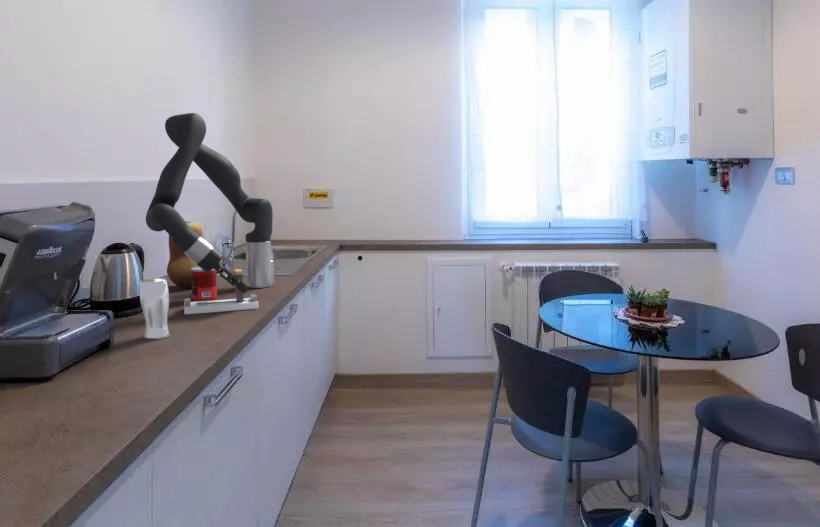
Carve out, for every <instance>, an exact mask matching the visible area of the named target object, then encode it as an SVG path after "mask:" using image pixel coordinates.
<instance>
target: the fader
mask: <svg viewBox="0 0 820 527" xmlns="http://www.w3.org/2000/svg"><path fill="white" fill-rule="evenodd" d="M234 274H235V277H236V278H238V279H239V280H240V281H241V282H242V283H244V280H243V270H242V269H241V268H239V269H238V268H237V269H234ZM234 289H235V299H236V301H237V302H241V301H244V300H243V298H244V293H242V292H241V291H240V290H239V289H237V288H236V287H234Z"/></svg>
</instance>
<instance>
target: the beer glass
mask: <svg viewBox="0 0 820 527" xmlns="http://www.w3.org/2000/svg"><path fill="white" fill-rule="evenodd" d="M168 279H169V278H165V277H152V278H151V277H150V278H144V279H141V280H140V281H139V298H140V299H139V300H140V305H141V306H140V307H141V310H142V313H143V318H144V321H145V323H144V324H145V330H144V339H147V340H161V339H166V338H168V337H170V336H171V332H170V329H169V325H168V317H169V307H170V290H169V281H168Z"/></svg>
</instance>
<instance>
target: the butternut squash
mask: <svg viewBox="0 0 820 527" xmlns="http://www.w3.org/2000/svg"><path fill="white" fill-rule="evenodd" d="M185 222H186V223H187V225H188V226H189V227H190V228H191V229H193V230H194V231H195V232H196V233H197V234H199V235H200V236H201V237H202V238H204V234H203V233H204V232H203V228H202V225H201V224H200V223H199V222H196V221H186V220H185ZM168 250H169V261H168V263H167V267H166V274H167V276H168V279H169V280H170V281H171V282H172V283H173V284H174V285H175V286H177V287H178V288H179V289H186V288H192V281H191V268H194V267H199V266H198V265H197V264H195V263H194V262H193V261H192V260H191V259H190V258H189V257H188V256H187V255H186V254H185V253H184V252H182V251H181V250H180V249H179V248H178V247H177V246H175V245H174V244H173V243H172V241H171V236H170V235H169V234H168Z"/></svg>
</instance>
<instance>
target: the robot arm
mask: <svg viewBox="0 0 820 527" xmlns="http://www.w3.org/2000/svg"><path fill="white" fill-rule="evenodd" d="M164 130H165V132H166V135H167V137H168V138H169V139H170V141H171V142H172V143H173V144H174V145H175V146H176V147H178V148H177V150H176V152H175V153H174V154H173V156H172V157H171V158H170V160H169V161H168V162H167V163H166V165H165V166H164V167H163V169H162V170H161V173H160V175H159V179H158V182H157V185H156V189H155V193H154V195H153V198H152V200H151V201H150V204H149V206H148V209H147V211H146V214H145V215H146V216H145V223H146V226H147V227H148V228H149V229H150V230H151V231H154V232H163V231H165V232H166V233H167V234H168V236H169V235H170V236H171V241H172V243H173V244H174V245H175V246H177V247H178V248H179V249H180V250H181V251H182V252H184V253H185V254H186V255H187V256H188V257H189V258H190V259H191V260H192V261H193V262H194V263H195V264H197V265H198V266H199V267H200V268H201V269H203V270H204V271H205V272H207V273H208V272H210V271H211V270H212V269H215V270H216V276H218V277H220V278H222V279H223V280H224V281H225V282H226V283H228V284H230V285H231V286H232V287H234V288H235V287H236V288H237V289H239V290H240V291H241V292H242V293H243V294H246V293H247V292H248V291H249V288H252V289H259V288H260V289H261V288H262V289H263V288H269V287H272V286H275V265H274V263H275V262H274V260H272V242H271V241H272V235H273V218H274V217H273V216H274V214H273V206H272V203H271V202H270V201H269V200H268V199H267V198H258V197H257V198H252V197H250V196H249V195H248V194H247V193H246V192H245V191H244V189H242V187H241V186H242V185H241V175H240V172H239V171H238V169H237V168H236V167H235V165H233V163H232V162H231V161H230V159H228V158H227V157H226V156H224V155H223V154H222V153H219V152H218V151H217V150H214V149H213V148H211V147H209V146H207V145H205V144H204V143H203V141H204V139H205V136H206V134H207V124H206V121H205V119H204V118H203V116H202V115H200V114H199V113H195V112H188V113H182V114H175V115H172V116H169V117H168V118H167V119H166V120H165V124H164ZM193 162H194V163H195V164H196V166H198V168H199V169H200V170H201V171H202V172H203V173H204V174H205V176H206V177H207V178H208V180H210V181H211V182H212V183H213V185H215V187H216V188H217V189H218V190H219V191H220V192H221V193H222V195H223V196H224V197H225V198H226V199H227V201H229V202H230V203H231V205H232V207H233V208H234V209H235V211H236V212H237V214H238V215H239V217H240V218H241V219H242V220H243V221H244V222H246V223H249V224H250V223H252V224H254V228H253V230H251V231H250V232H249V231H248V233H246V234H245V254H246V255H245V256H246V257H245V258H246V280H247V281H246V283H244V282H243V283H242V282H241V281H240V280H239V279H238V278H236V277H235V271H234V270H232V269H231V268H230V267H229V266H228V265H227V263H221V261H222V260H223V258H224V254H223V253H222V252H221V251H220V250H218V249H217V248H216V247H215V246H214V245H213V244H211V243H210V242H209V241H208V240H207V239H205V238H204V237H203V238H202V237H201V236H200V235H199V234H197V233H196V232H195V231H194V230H193V229H191V228H190V227H189V226H188V225H187V223H186V222H185V221H186V220H185V219H184V218H183V217H182V215H181V214H180V212H178V211H177V209H175V205H176V203H177V202H178V201H179V199H180V197H181V195H182V191H183V187H184V184H185V180H186V177H187V175H188V173H189V171H190V170H189V169H190V168H191V165H192V163H193ZM236 288H235V289H236Z"/></svg>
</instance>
